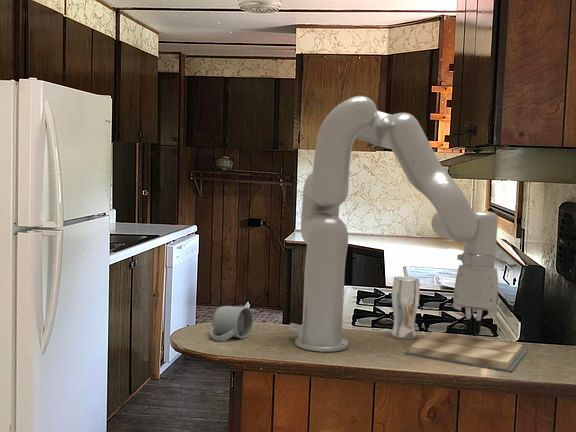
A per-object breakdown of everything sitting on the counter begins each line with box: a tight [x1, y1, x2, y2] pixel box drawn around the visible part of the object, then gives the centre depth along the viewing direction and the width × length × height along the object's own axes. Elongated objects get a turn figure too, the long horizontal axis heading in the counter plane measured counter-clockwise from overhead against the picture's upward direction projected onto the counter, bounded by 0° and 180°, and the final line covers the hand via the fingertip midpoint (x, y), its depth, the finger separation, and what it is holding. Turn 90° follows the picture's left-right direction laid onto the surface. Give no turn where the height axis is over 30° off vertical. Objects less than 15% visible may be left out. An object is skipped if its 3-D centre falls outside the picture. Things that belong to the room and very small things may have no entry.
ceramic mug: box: [210, 305, 254, 342], centre depth 161 cm, size 11×8×8 cm
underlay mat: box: [404, 349, 528, 374], centre depth 155 cm, size 24×20×1 cm
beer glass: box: [391, 276, 420, 340], centre depth 170 cm, size 7×7×15 cm
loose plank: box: [421, 330, 523, 359], centre depth 159 cm, size 22×9×2 cm, turn 61°
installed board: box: [408, 338, 515, 369], centre depth 151 cm, size 22×9×2 cm, turn 61°
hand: (473, 334), depth 162 cm, fingers closed
